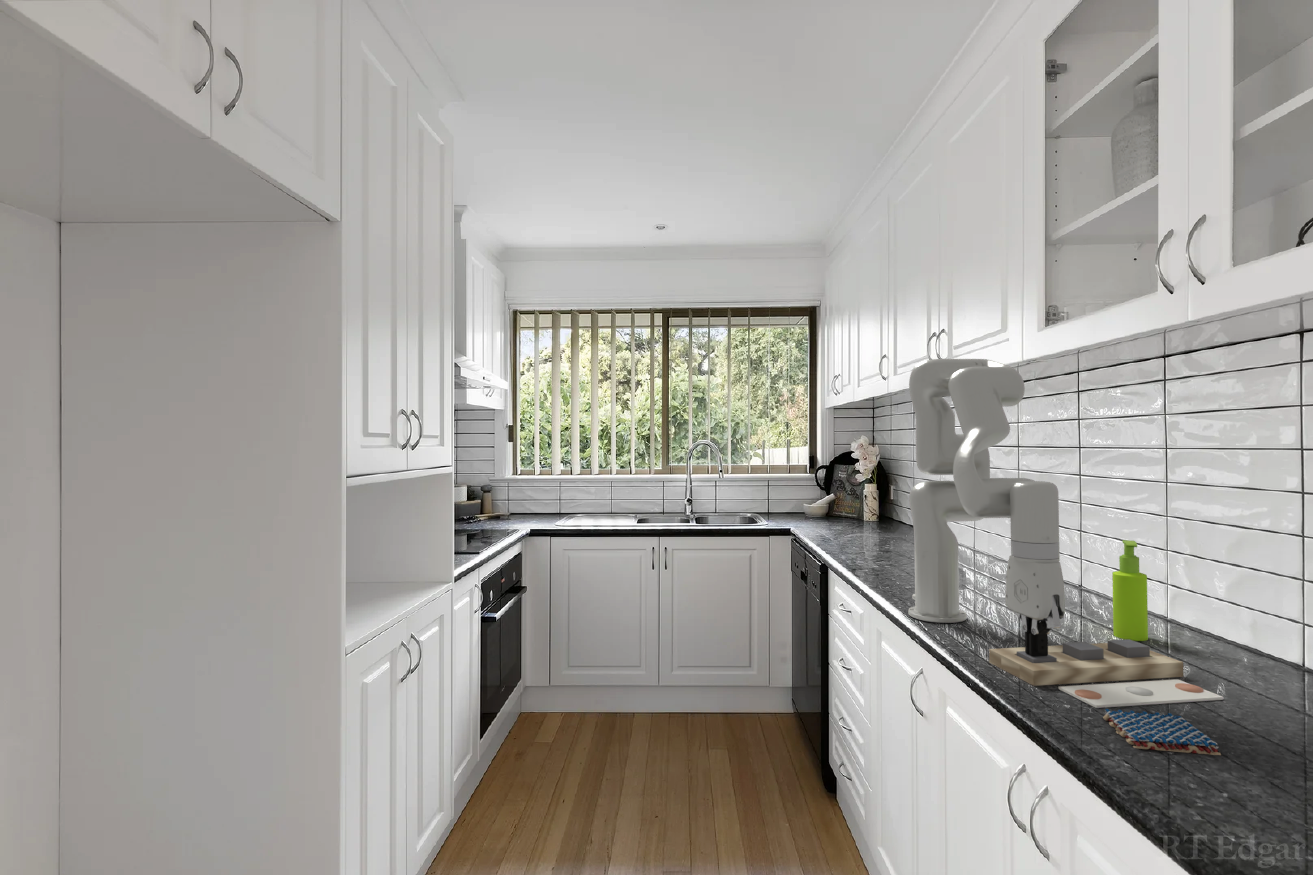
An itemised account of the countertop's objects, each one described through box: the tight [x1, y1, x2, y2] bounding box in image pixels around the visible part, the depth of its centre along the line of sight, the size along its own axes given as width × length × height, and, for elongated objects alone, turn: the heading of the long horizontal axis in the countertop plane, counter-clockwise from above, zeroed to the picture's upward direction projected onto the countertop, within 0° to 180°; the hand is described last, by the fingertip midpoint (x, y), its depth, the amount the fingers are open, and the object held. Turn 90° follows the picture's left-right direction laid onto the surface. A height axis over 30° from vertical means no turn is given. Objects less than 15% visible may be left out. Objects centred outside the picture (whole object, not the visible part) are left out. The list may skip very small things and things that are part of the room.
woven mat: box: [1102, 708, 1222, 756], centre depth 93 cm, size 10×11×2 cm
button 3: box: [1107, 639, 1151, 658], centre depth 121 cm, size 4×4×2 cm
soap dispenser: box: [1111, 539, 1149, 642], centre depth 139 cm, size 6×7×20 cm
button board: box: [988, 642, 1184, 687], centre depth 120 cm, size 28×12×2 cm, turn 97°
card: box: [1058, 678, 1224, 709], centre depth 108 cm, size 22×8×1 cm, turn 97°
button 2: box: [1062, 641, 1104, 661], centre depth 120 cm, size 4×4×2 cm
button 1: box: [1017, 651, 1057, 663], centre depth 119 cm, size 4×4×2 cm
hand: (1036, 654), depth 119 cm, fingers closed
